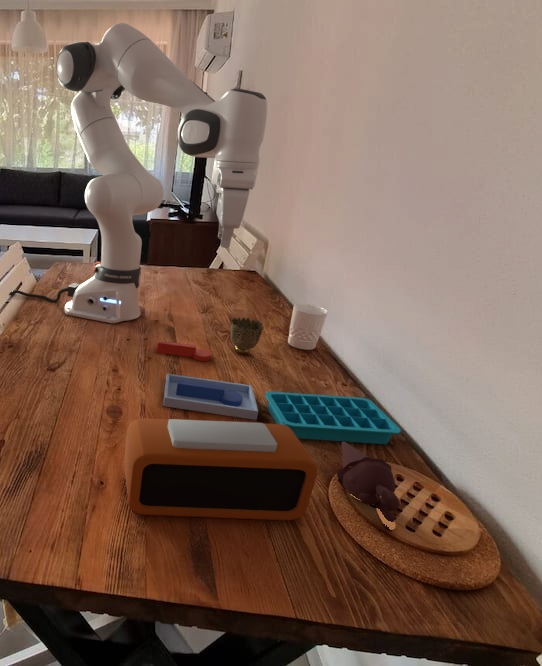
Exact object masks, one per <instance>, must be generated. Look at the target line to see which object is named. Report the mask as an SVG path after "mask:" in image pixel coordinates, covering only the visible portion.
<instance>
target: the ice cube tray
mask: <svg viewBox="0 0 542 666" xmlns="http://www.w3.org/2000/svg"><path fill="white" fill-rule="evenodd" d="M264 397H265V398H266V399H267V401H268V405H267V411H268V412H269V415H270V416H271V417H272V418H273V420H274V422H275V424H282V425H286V426H288V427H289V428H291V430H292V431H293V432H294V434H295V435H296V437H297V438H298V439H303V440H304V439H305V440H316V441H317V440H318V441H319V440H320V441H334V442H346V443H348V442H349V443H361V444H363V443H364V444H375V445H376V444H377V445H378V444H379V445H387V444H389V441H390V439H391V437H392V436H393V435H399V434H401V432H402V429H401V428H400V427H399V426H398V425H397V424H396V423H395V422H394V421H393V420H392V419H391V418H390V417H389V416H388V415H387V414H386V413H385V412H384V411H383V410H382V409H381V408H380V407H378V405H377V404H376V403H375V402H373V400H371V399H369V398H366V397H360V396H359V397H358V396H342V395H328V394H312V393H298V392H283V391H266V392H265V394H264Z"/></svg>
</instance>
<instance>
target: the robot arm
mask: <svg viewBox="0 0 542 666" xmlns="http://www.w3.org/2000/svg"><path fill="white" fill-rule="evenodd" d="M55 72H56V76H57V80H58V82H59V84H60V85H61V87H63V88H64V89H66V90H67V91H68V90H69V91H71V92H77V94H76V95H75V96H74V98H73V99H72V102H71V103H70V111H71V112H70V113H71V117H72V121H73V125H74V129H75V131H76V134H77V136H78V140H79V142H80V144H81V147H82V149H83V151H84V154H85V156H86V158H87V161H88V163H89V165H90V166H91V167H92V169H94V170H95V171H97V172H98V173H100V174H101V175H100V176H97V177H95V178H93V179H91V180H90V181H89V182H88V183H87V185H86V188H85V191H84V202H85V205H86V208H87V210H88V211H89V213H91V214H92V215H93V216H94V218H95V220H96V221H97V224H98V227H99V231H100V235H101V254H100V255H101V256H100V261H96V263H94V265H93V271H92V275H93V276H92V277H90V278H88V279H87V280H85V281H84V282H83V283H77V282H73V283H71V284H69V285H67V287H64V288H62V289H60V290H59V291H58V292H57V295H56V298H50V297H48V296H45V295H43V294H36V293H35V294H34V293H29V292H24V291H22V290H19V289H14V290H12V291H13V292H12V291H10V292H9V293H8V295H9V296H13V295H15V294H19V295H22V296H24V297H28V298H35V299H36V298H37V299H43V300H45V301H48V302H51V303H58V302H59V301H60V299H61V295H62V294H63V293H66V292H67V294H66V295H67V297H68V298H72V299H70V300H69V301H68V302H66V304H65V305H64V310H63V311H64V313H65V315H68V316H73V317H78V318H81V319H82V318H83V319H87V320H93V321H99V322H104V323H108V324H117V323H120V322H125V321H133V320H136V319H138V318H139V317H141V315H142V312H141V307H140V299H139V298H140V297H139V287H140V285H141V278H142V277H141V276H142V267H141V255H142V245H143V241H142V238H141V236H140V234H138V233H137V232H136V230H135V227H134V223H133V217H134V216H142V215H146V214H148V213H151V212H153V211H154V210H156V209H158V208H159V207H160V206H161V204H162V202H163V199H164V192H165V191H164V187H163V183H162V182H161V181H160V180H159V179H158V178H157V177H156V176H155V175H152V174H151V173H150V172H149V171H148V170H147V169H146V168H145V167H144V165H143V164H142V163H141V162H140V160H139V159H138V157H136V156H135V154H134V153H133V151H132V150H131V148H130V147H129V145H128V143H127V141H126V139H125V136H124V134H123V132H122V130H121V127H120V126H119V123H118V120H117V117H116V116H115V115H114V112H113V110H112V106H111V100H118V99H119V98H120V97H121V96H122V93H123V92H124V91H125V90H126V91H127V92H128V93H129V94H130V95H132V96H134V97H135V98H137V99H139V100H141V101H144V102H148V103H152V104H153V103H154V104H158V105H162V106H167V107H170V108H172V109H175V110H177V111H179V112H180V113H181V114H183V115H184V116H183V117H182V119H181V121H180V123H179V125H178V128H177V142H178V146H179V149H181V151H182V153H184V154H185V155H187V156H190V157H194V158H205V159H214V163H213V168H212V175H211V182H210V183H211V184H212V185H215V186H216V189H215V193H217V194H218V198H217V204H216V212H215V213H216V216H217V219H218V234H217V238H218V240H220V247H221V248H224V249H229V248H230V247H231V241H232V237H233V234H234V231H235V229H236V230H237V229H239V228H240V227H241V225H242V222H243V219H244V216H245V212H246V208H247V204H248V200H249V196H250V190H253V189H254V188H255V186H256V181H257V176H258V170H259V166H260V149H261V146H262V143H263V142H264V138H265V132H266V125H267V116H268V101H267V97H266V96H265V95H264V94H263V93H261V92H257V91H253V90H249V89H243V88H239V87H238V88H230V89H229V90H227V91H226V92H225V93H224V95H222V96H221V97H219V98H218V99H216V100H215V99H214V98H213V97H212V96H210V95H209V94H208V93H206V92H205V91H204V90H203V89H202V88H201V87H199V86H198V85H197V84H196V83H194V81H192V79H190V78H189V77H188V76H187V75H186V74H185V73H184V72H183V71H182V70H181V69H180V68H179V67H177V65H176V64H175V63H174V62H173V61H172V60H171V59H170V58H169V57H168V56H167V55H166V53H164V52H163V51H162V49H161V48H160V47H159V46H157V44H156V43H154V42H153V40H152V39H150V38H149V37H148V36H147V35H146V34H144V33H143V32H142V31H140V30H139V29H137V28H135V27H134V26H132V25H130V24H128V23H124V22H120V23H119V22H118V23H115V24H114V25H112V26H110V27H109V28H108V29H107V30H106V32H105V33H104V35H103V37H102V39H101V40H100V42H89V41H76V42H72V43H68V44H66V45H64V46H63V47H61V49H60V51H59V52H58V55H57V58H56V63H55Z"/></svg>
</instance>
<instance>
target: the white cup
mask: <svg viewBox="0 0 542 666" xmlns="http://www.w3.org/2000/svg"><path fill="white" fill-rule="evenodd" d="M291 313H292V314H291V318H290V324H289V330H288V332H289V334H288V338H287V343H288V345H289V346H291V347H293V348H295V349H298V350H305V351H308V350H309V351H312V350H314V349H316V347H317V344H318V341H319V338H320V336H321V333H322V330H323V328H324V325H325V323H326V319H327V316H328V313H329V311H328V310H327V309H326V308H324V307H321V306H319V305H315V304H311V303H296V304H294V305H293V307H292V312H291Z"/></svg>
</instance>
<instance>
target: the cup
mask: <svg viewBox="0 0 542 666" xmlns="http://www.w3.org/2000/svg"><path fill="white" fill-rule="evenodd" d="M264 328H265V325H263V322H261V320H256V321H255V318H253V319H250V318H249V317H247V318H246V317H242V318H241V317H238V318H236V317H233V318H232V319H231V322H230V340H231V343H232V345H233V346H234V349H233V350H234V352H235V353H237V354H239V355H249V354H250V352H251V349H253V348H255V347H256V346H257V345H258V343H259V340H260V338H261V335H262V332H263V330H264Z"/></svg>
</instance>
